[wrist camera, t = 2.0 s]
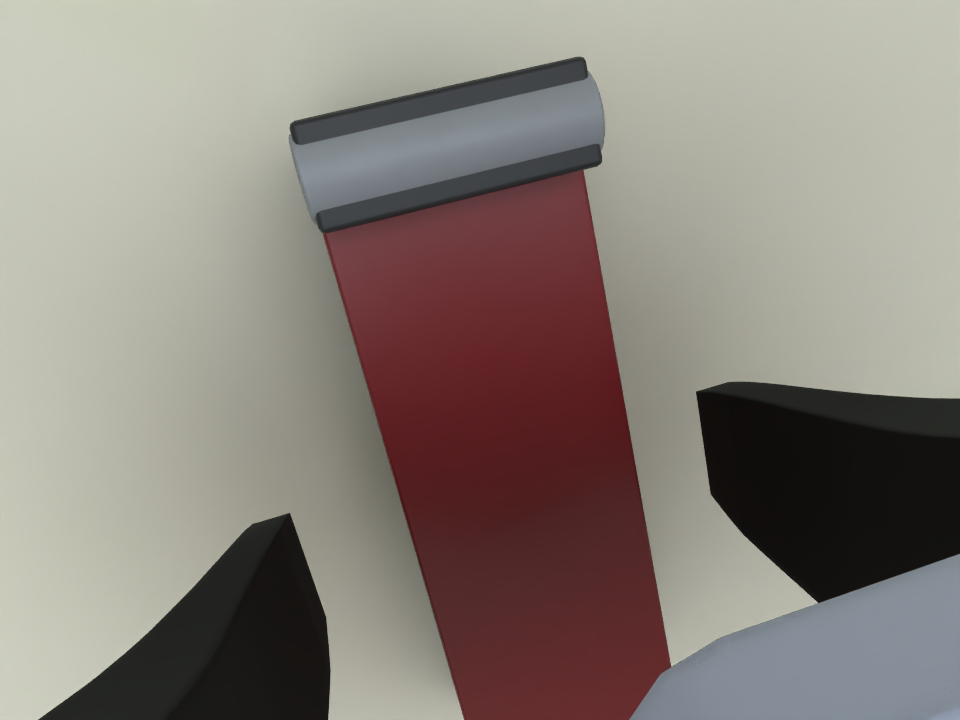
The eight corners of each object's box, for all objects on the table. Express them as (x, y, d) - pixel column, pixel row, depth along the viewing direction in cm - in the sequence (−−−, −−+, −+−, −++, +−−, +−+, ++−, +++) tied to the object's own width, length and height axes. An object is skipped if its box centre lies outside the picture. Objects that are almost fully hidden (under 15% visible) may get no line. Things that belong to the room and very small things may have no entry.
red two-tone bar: (608, 649, 17) (727, 856, 12) (463, 698, 17) (522, 937, 12) (493, 98, 14) (595, 50, 8) (303, 142, 13) (282, 121, 8)
